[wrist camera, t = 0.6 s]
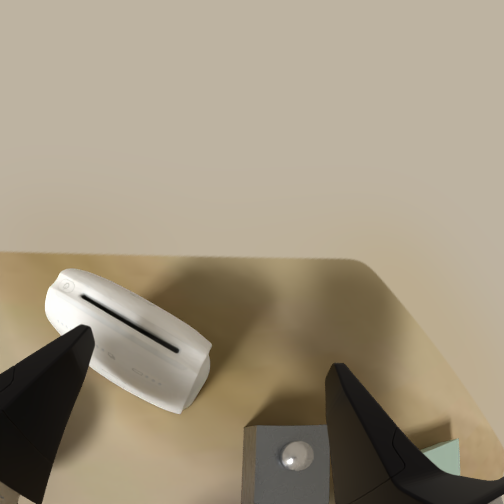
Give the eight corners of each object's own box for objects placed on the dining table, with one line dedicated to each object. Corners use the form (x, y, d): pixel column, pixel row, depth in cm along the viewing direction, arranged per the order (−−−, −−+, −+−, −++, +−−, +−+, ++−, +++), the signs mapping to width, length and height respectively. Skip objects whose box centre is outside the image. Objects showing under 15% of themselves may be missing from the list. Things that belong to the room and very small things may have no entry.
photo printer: (78, 361, 21) (20, 296, 11) (101, 323, 23) (67, 237, 14) (183, 421, 21) (199, 408, 11) (203, 378, 23) (235, 328, 14)
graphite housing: (305, 523, 17) (332, 534, 13) (239, 528, 16) (255, 545, 12) (307, 428, 23) (334, 423, 19) (243, 427, 22) (260, 424, 18)
